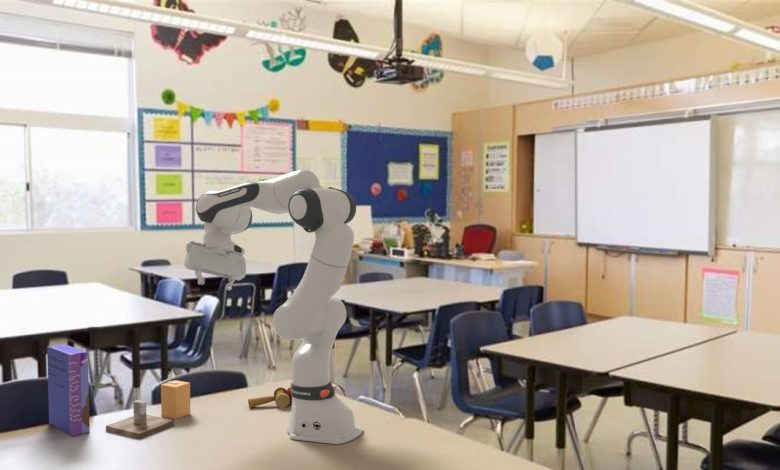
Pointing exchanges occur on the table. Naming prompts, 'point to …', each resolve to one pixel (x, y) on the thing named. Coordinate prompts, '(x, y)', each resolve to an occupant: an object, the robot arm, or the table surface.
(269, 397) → the kendama
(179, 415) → the orange block
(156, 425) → the shaft base
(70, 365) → the cereal box
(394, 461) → the table surface
